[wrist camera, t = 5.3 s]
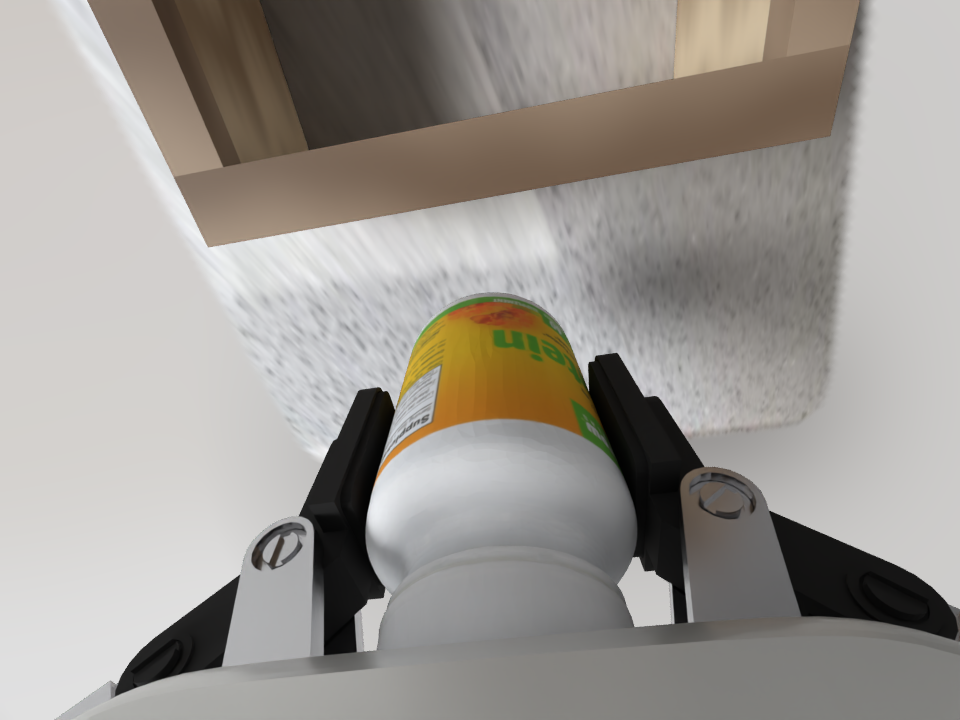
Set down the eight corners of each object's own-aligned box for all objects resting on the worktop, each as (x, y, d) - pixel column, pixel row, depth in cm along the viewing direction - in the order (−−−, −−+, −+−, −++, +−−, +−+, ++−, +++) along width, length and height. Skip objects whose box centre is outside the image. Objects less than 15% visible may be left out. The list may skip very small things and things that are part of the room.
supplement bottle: (603, 344, 14) (804, 703, 5) (507, 443, 16) (541, 806, 7) (469, 254, 12) (453, 561, 4) (384, 378, 14) (252, 746, 6)
